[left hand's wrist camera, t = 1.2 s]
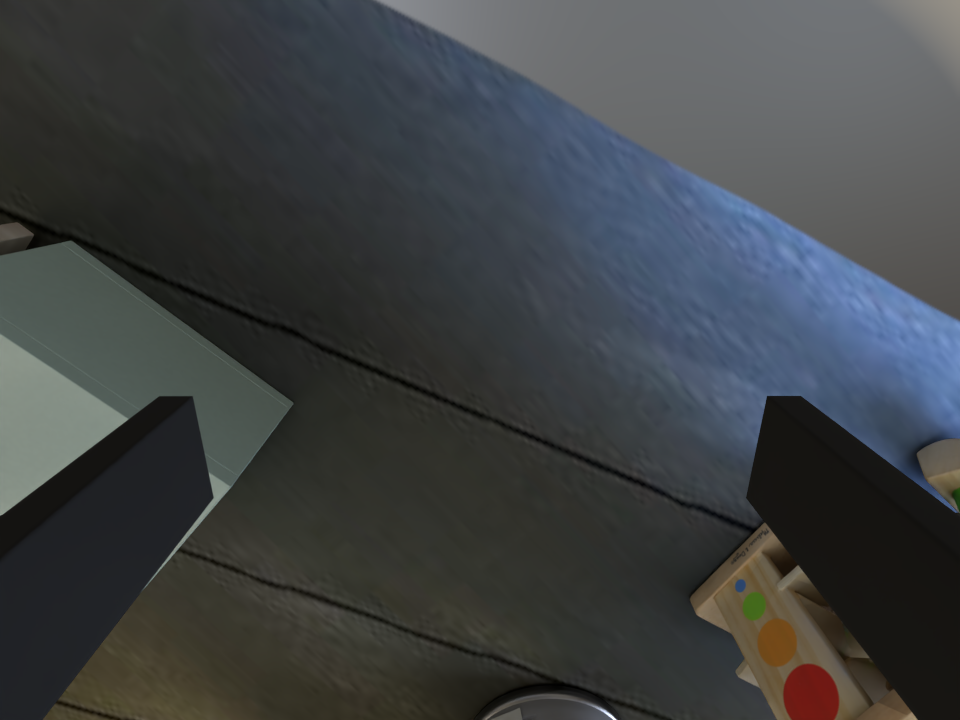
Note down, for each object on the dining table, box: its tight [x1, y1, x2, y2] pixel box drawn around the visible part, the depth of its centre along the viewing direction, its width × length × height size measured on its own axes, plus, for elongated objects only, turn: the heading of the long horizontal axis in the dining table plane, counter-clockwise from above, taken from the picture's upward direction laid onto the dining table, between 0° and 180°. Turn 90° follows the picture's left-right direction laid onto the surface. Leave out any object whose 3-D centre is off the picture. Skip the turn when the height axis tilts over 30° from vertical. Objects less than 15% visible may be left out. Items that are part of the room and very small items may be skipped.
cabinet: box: [0, 241, 293, 591], centre depth 34 cm, size 18×11×11 cm, turn 48°
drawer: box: [0, 222, 34, 256], centre depth 33 cm, size 22×10×9 cm, turn 48°
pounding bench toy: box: [690, 438, 960, 720], centre depth 36 cm, size 23×14×18 cm, turn 148°
